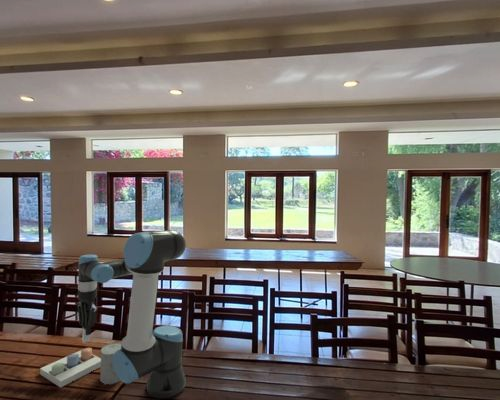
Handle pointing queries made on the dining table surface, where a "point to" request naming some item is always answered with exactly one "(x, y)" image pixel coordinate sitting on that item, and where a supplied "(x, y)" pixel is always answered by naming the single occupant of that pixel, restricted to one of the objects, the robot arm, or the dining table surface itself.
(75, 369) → the panel
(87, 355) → the terracotta button
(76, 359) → the slate button
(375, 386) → the dining table surface
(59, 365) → the sage button
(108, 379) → the light grey cylinder
